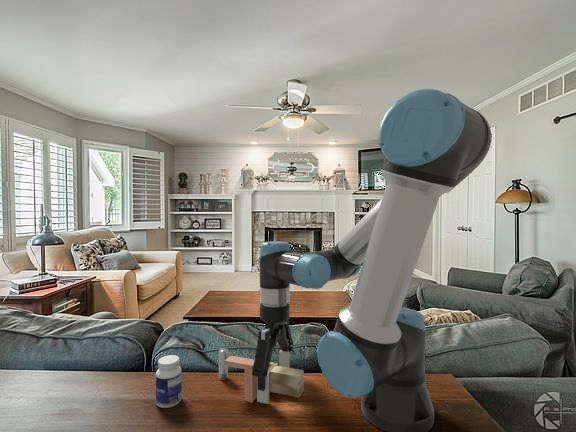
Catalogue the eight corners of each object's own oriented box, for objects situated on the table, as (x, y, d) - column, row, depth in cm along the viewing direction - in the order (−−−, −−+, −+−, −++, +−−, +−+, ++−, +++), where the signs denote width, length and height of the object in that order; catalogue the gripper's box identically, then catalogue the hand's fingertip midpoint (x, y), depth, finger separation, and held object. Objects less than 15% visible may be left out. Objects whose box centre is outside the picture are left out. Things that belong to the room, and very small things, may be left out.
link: (305, 387, 82) (305, 368, 82) (297, 400, 76) (297, 379, 76) (256, 378, 86) (256, 359, 86) (246, 389, 81) (246, 369, 81)
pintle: (229, 376, 87) (229, 349, 87) (224, 381, 85) (224, 352, 85) (221, 375, 88) (221, 347, 88) (217, 379, 86) (217, 351, 86)
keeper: (258, 395, 78) (258, 360, 78) (252, 402, 75) (252, 365, 75) (230, 390, 81) (230, 355, 81) (224, 396, 78) (224, 360, 78)
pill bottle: (151, 402, 76) (151, 359, 76) (174, 392, 80) (174, 351, 80) (162, 412, 72) (162, 367, 72) (186, 401, 76) (186, 358, 76)
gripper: (279, 291, 94) (279, 364, 94) (236, 315, 71) (236, 412, 71) (304, 293, 92) (303, 368, 92) (267, 319, 69) (267, 420, 69)
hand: (274, 387), depth 81 cm, fingers open, 13 cm apart
